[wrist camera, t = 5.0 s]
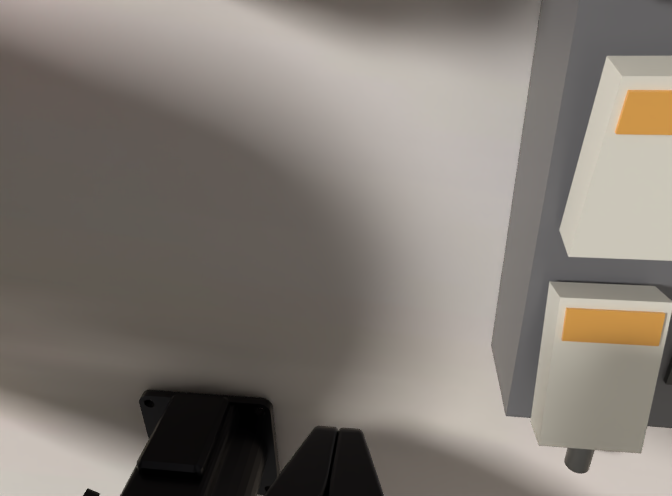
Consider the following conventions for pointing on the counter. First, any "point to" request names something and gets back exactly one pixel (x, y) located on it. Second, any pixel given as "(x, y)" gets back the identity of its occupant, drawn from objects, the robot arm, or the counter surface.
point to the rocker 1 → (625, 166)
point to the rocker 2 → (599, 365)
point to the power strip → (568, 189)
